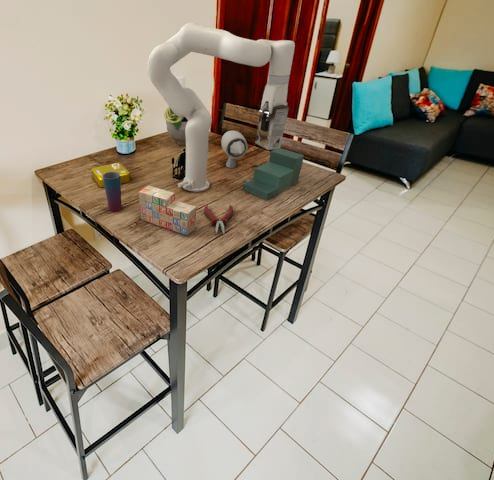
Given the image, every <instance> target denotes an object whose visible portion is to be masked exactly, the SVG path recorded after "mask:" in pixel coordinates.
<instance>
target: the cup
mask: <svg viewBox="0 0 494 480" xmlns="http://www.w3.org/2000/svg"><path fill="white" fill-rule="evenodd" d="M103 181H104V186H105V187H104V191H105V196H106V200H107V205H108V210H109V211H110V212H112V213H117V212H121V210H122V207H123V206H122V186H121V185H122V184H121V180H120V173H118V172H114V171H112V172H106V173H104V174H103Z"/></svg>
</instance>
